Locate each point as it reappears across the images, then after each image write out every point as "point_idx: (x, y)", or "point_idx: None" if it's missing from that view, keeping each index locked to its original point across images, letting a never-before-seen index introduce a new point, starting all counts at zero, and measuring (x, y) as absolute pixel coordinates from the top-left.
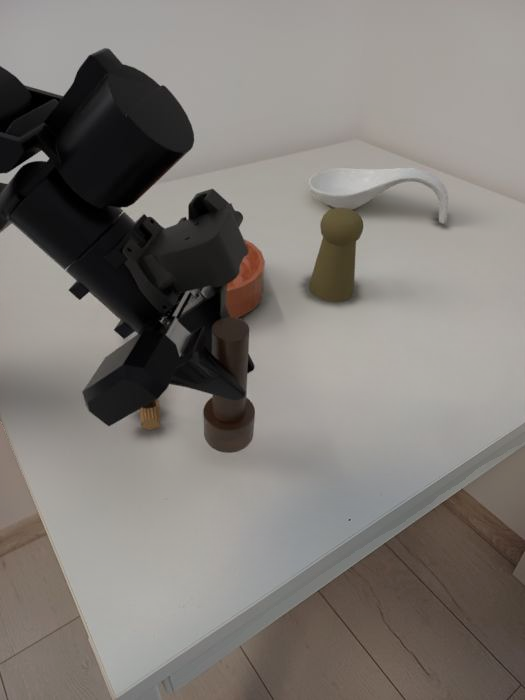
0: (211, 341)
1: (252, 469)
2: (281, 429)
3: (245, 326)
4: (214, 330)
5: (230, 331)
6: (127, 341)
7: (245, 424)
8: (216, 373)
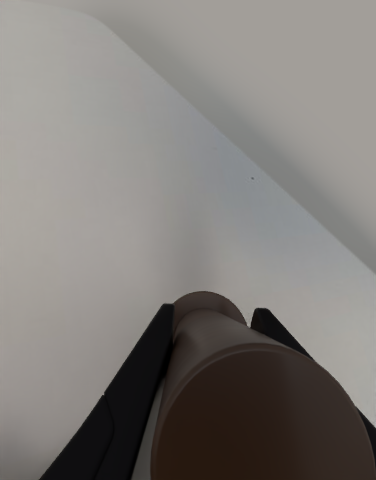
0: (147, 472)
1: (213, 288)
2: (144, 261)
3: (224, 374)
4: None
5: (291, 460)
6: None
7: (228, 302)
8: (368, 420)
